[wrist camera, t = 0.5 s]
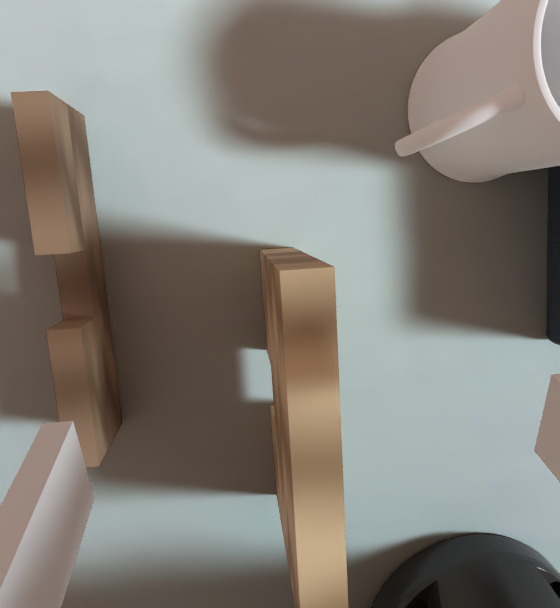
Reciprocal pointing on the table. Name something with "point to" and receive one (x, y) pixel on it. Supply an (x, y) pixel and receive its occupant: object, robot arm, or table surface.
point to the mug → (490, 95)
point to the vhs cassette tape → (553, 256)
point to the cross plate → (306, 423)
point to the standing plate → (70, 265)
